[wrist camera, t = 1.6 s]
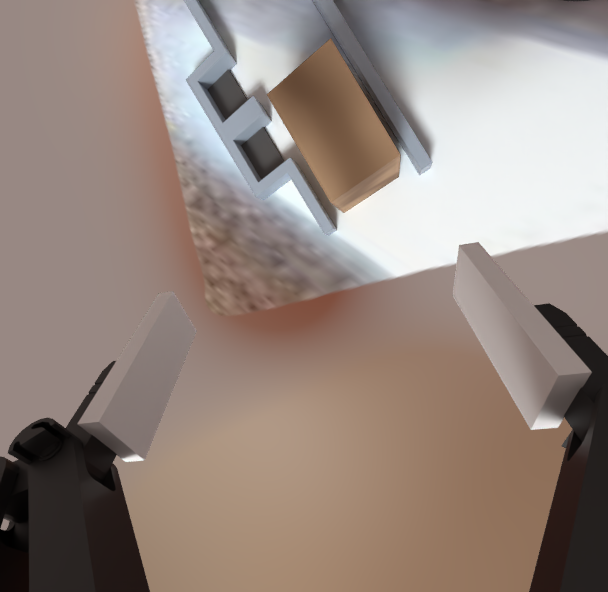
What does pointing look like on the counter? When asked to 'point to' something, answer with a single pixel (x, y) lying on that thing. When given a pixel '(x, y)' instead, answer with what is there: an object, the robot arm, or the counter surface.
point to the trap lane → (253, 118)
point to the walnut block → (336, 128)
